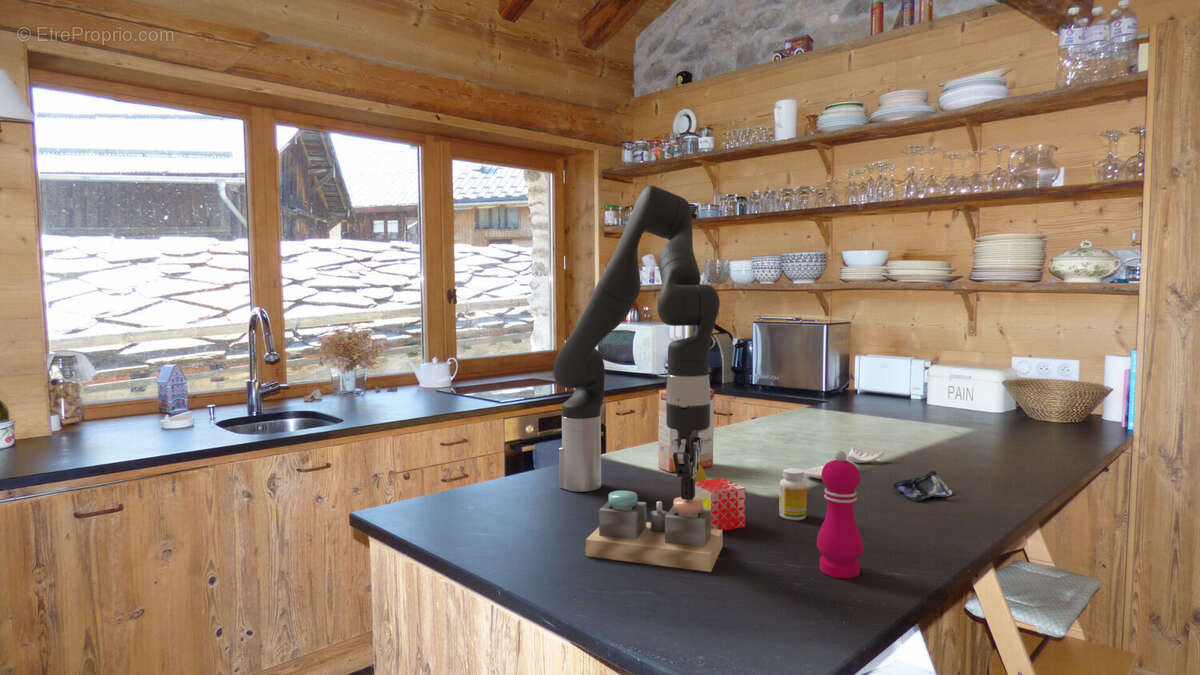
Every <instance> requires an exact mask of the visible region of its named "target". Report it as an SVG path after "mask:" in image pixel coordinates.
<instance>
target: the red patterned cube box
mask: <svg viewBox="0 0 1200 675" xmlns="http://www.w3.org/2000/svg"><path fill="white" fill-rule="evenodd" d="M695 497H697V498H700V499H702V500H703V508H709V509H711V529H717V530H725V531H729V530H735V528H736V529H741V528H745V527H746V487H745V486H742V485H740V484H737V483H735V482H733V481H731V480H728V479H726V478H723V477H720V478H714V479H706V480H704V481H696V482H695ZM727 529H728V530H727Z"/></svg>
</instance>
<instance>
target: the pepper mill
mask: <svg viewBox="0 0 1200 675" xmlns="http://www.w3.org/2000/svg"><path fill="white" fill-rule="evenodd" d="M847 456H848V455H847V454H846V452H845V451H843V450H838V451H837V452H836V453H835V456H834V458H835V459H833V460H829V461H828V462H826V463H825V464H824V465H825V466H824V465H823V466H824V467H823V469H822V474H821V477H822V479H821V481H822V483H823V484H824V485H825V487H826V488H824V494H823V495H824V496H823V497H824V499H826V505H827V506H826V507H827V508H826V513H825V514H826V515H825V517H824V520H823V523H822V524H821V526H820V529H819V531H818V533H817V537H816V548H817V550H818V551H819V552H820V554H821V556H820V557H819V571H821V572H822V573H823V574H824V575H827V576H828V577H833V578H838V579H853V578H856V577H858V576H859V575H860V573H861V571H860V570H861V567H860V566H861V565H860V564H861V563H860V561H859V557H861V555H862V554H863V552H864V541H863V537H862V535H861V532H860V529H859V528H858V526H857V523H856V520H855V515H854V514H855V513H854V505H855V502H856V501H857V500H858V498H857V494H858V493H857V491H856V488H857V487H859V485H860V484H861V483H860V482H861V473H860V470H859V469H858V467H857V466H856V465H855V464H853V462H852V461H845V460H846V458H847Z"/></svg>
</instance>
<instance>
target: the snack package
mask: <svg viewBox="0 0 1200 675" xmlns="http://www.w3.org/2000/svg"><path fill="white" fill-rule="evenodd" d="M920 476H922V474H920ZM893 488H894V489H895V490H897V491H900V492H901V494H903V497H904V498H905V499H906V500H910V501H913V502H916V503H917V502H920V501H922V500H926V499H929V498H930V497H933V498H935V497H936V498H937V497H938V498H939V497H940V498H942V497H944V498H945V497H948V496H951V495H952V494H953V491H952V490H951V489H949V488H948V486H947V485H946V483H945V482H944V481H943V480H942V479H941V477H940V475H939V474H938V473H937V471H935V470H932V471H930V472H928V473H926V474H925V475H923V476H922V477H913V478H910V479H903V480H902V481H898V482H895V483H893Z"/></svg>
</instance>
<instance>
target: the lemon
mask: <svg viewBox="0 0 1200 675" xmlns="http://www.w3.org/2000/svg"><path fill="white" fill-rule="evenodd" d="M706 476H707V475H706V472H705V470H704V468H702V467H701V466H700V465H699V469H698V471H697V475H696V477H695V482H696V481H704V480H707V477H706Z"/></svg>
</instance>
